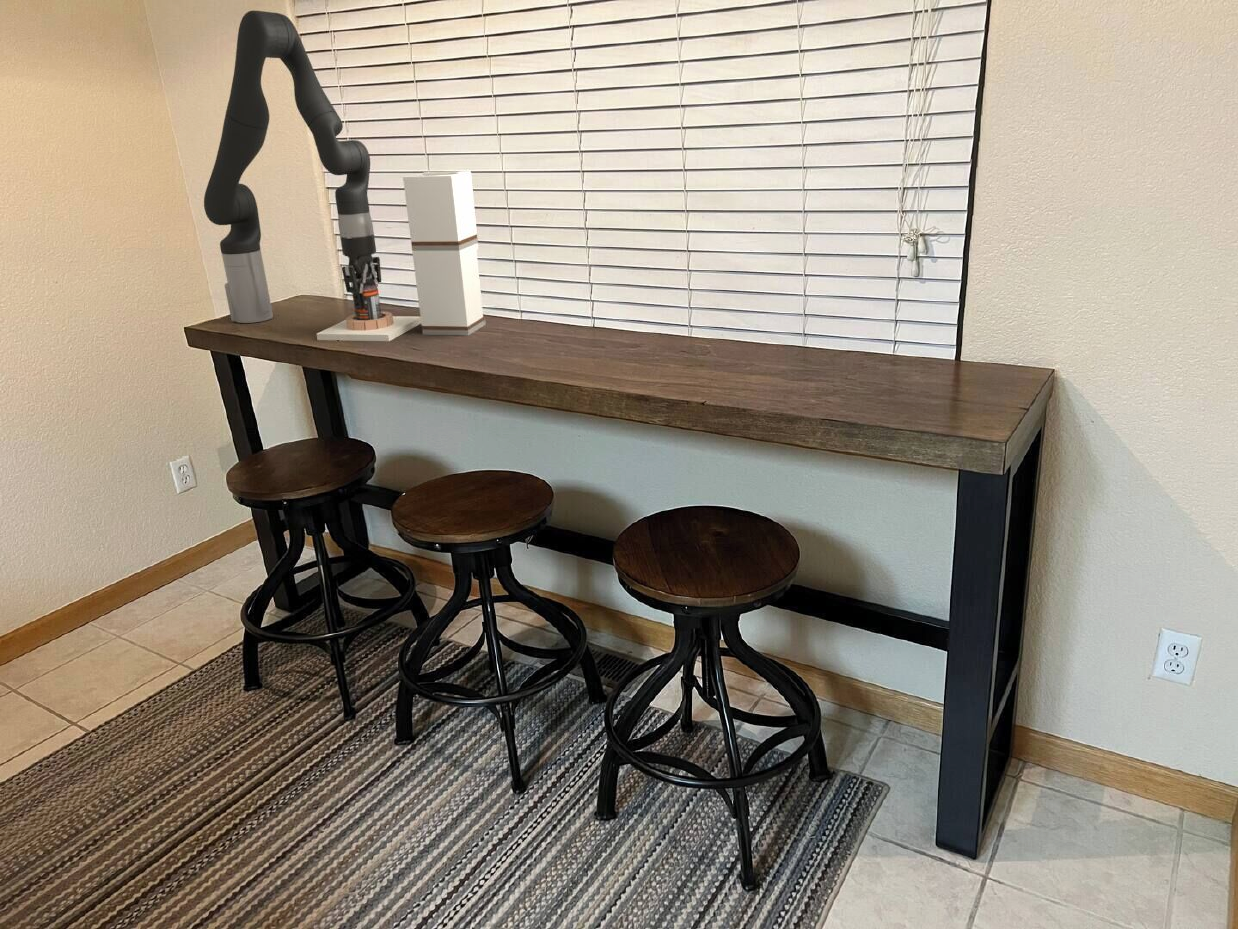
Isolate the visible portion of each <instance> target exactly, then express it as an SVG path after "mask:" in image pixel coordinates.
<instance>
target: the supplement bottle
mask: <svg viewBox="0 0 1238 929" xmlns="http://www.w3.org/2000/svg"><path fill="white" fill-rule="evenodd" d="M372 282H373V280H372V277H371V276H369V277H367V278H366V282H365V284H364V285H363V295H364V302H365V309H363V310H357V309H356V308H355V303H354V296H353V293H351V294H352V301H353V307H354V314H355V315H356V320H374V319H379V318H382V315H381V312H382V307H381V303H380V302H381V301H380V294H379V289H378V287H377V286H375V285H374V284H373V283H372ZM358 288H359V284H358Z"/></svg>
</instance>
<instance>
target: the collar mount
mask: <svg viewBox="0 0 1238 929" xmlns="http://www.w3.org/2000/svg"><path fill="white" fill-rule="evenodd" d="M381 315H382V318H379V319H374V320H356V315H355V313H354V314H351V315H349V316H347V317H345V320H342V321H341V322H338V323H336V324H334V325H332V326H329V327H328V328H326V329H323V330H322V331H320V332H317V333H316V339H317V341H337V340H339V341H342V342H343V341H344V342H345V341H346V342H347V341H348V342H352V341H353V342H391V341H392V340H394V339H396V338H398V337H399V336H402V335H403V334H405V333H406V332H408V331H410V330H412V329H414V328H416V327H417V326H419V325H422V324H421V316H415V315H414V316H412V315H411V316H407V315H405V316H403V315H402V316H401V315H399V316H398V315H397V316H396V315H393V313H391V312H390V311H389V312H388V311H381ZM339 341H338V342H339Z"/></svg>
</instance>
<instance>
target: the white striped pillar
mask: <svg viewBox="0 0 1238 929" xmlns="http://www.w3.org/2000/svg"><path fill="white" fill-rule="evenodd" d="M402 180H403V188H404V195H405V196H404V197H405V204H406V205H405V206H406V212H407V213H406V214H407V219H408V228H409V234H410V237H409V238H410V243H411V251H412V259H413V267H414V268H413V269H414V275H415V276H414V277H415V282H416V284H415V286H416V290H417V299H418V307H419V314H420V316H419V317H421V324H420V325H421V330H422V335H431V336H433V335H434V336H439V335H440V336H470V335H472V334H473V333H475V332H476V331H478V330H479V329H481V328H482V327H485V326H486V316H485V315H484V311H483V303H482V302H483V301H482V292H481V280H480V272H479V262H478V250H479V242H478V230H477V220H476V212H475V211H476V210H475V200H474V190H473V181H472V172H471V170H470V171H469V170H468V171H467V170H466V171H442V172H441V171H435V172H434V171H430V172H427V171H426V172H422V175H417V176H415V175H411V176H402Z"/></svg>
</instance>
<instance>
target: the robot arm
mask: <svg viewBox="0 0 1238 929" xmlns="http://www.w3.org/2000/svg"><path fill="white" fill-rule="evenodd" d="M240 20H241V21H240V23H239V28H238V31H237V32H238V33H237V39H236V40H237V42H236V52H235V60H234V61H235V62H234V68H233V69H234V70H233V76H232V83H231V88H230V93H229V98H228V102H227V106H226V110H225V111H226V112H225V116H224V121H223V125H222V132H221V137H220V141H219V146H218V150H217V153H216V158H215V162H214V165H213V168H212V172H211V175H210V177H209V180H208V183H207V186H206V189H205V193H204V196H203V197H204V198H203V208H204V213H205V215H206V218H208V220H209V221H210V222H211V223H213V224H214V225H217V226H229V225H230V230H229V232H228V234H227V235H226V236H225V237H224V238H223V239H221V241H220V242H219V248H220V252H221V257H222V261H223V267H224V272H225V277H226V283H225V284H224V290H225V296H226V300H227V304H228V310H229V315H230V320H231V322H236V323H239V324H240V323H241V324H253V323H259V322H265V321H268V320H271V319H273V318H274V314H273V307H272V302H271V298H270V293H269V287H268V281H267V277H266V271H265V266H264V260H263V255H262V249H261V238H262V231H261V225H260V218H259V217H260V216H259V209H258V203H257V200H256V197H255V195H254V193H253V191H252V190H251V189H250V187H248V185H246V184H244V183H240V181H241V178H242V176H243V175H244V172H245V171H246V170H247V168H248V167H249V166H250V164H251V163H252V162H253V160H254V159H255V158H256V156H258V154H260V153H259V152H261V149H262V147H264V144H265V140H266V137H267V132H268V130H269V129H268V128H269V125H270V124H269V123H270V111H269V105H268V103H267V100H266V97H265V94H264V91H263V89H262V76H263V68H264V64H265V62H266V59H267V58H270V59H271V58H272V59H279V60H280V61H281V62H282V63H283V64H284V65H285V67H286V68H287V69H288V71H289V73H290V75H291V78H292V81H293V90H294V91H293V92H294V101H295V104H296V108H297V110H298V113H299V115H301V118H302V119H303V121H304V122H305V124H306V126H307V128H308V129H309V130H310V132H311V133H312V136H313V140H314V143H315V146H316V149H317V153H318V155H319V160H320V162H321V164H322V166H323V168H325V170H326V171H327V172H328V173H330V174H331V175H335V176H346V179H345V183H344V184H343V185H340V186H339V187H337V188H336V189H335V191H334V192H335V193H334V195H335V196H334V197H335V204H336V209H337V217H338V218H337V219H338V220H337V221H338V225H337V226H338V231H339V238H340V245H341V250H342V255H343V256H345V257H347V258H348V265H346V266H342V267H341V272H342V276H343V281H344V286H345V290H346V293H351V294H352V293H353V294H352V297H353V296H354V301H353V304H354V303H355V308H356V309H357V310H363V309H365V302H364V295H363V285H364V284H365V282H366V278H367V277H369V276H371V277H372V280H373V282H372V283H373V284H374V285H375V286H377V288H378V287H379V283H382V272H381V271H382V270H381V260H380V257H379V256H373V255H374V254H376V253H377V247H376V239H375V238H376V237H375V232H374V224H373V220H372V217H371V211H370V205H369V197H368V190H369V180H370V173H371V157H370V153H369V151H368V149H367V146H366V145H365V144H364V143H363V142H361V141H359V140H354V139H352V140H351V139H350V140H340V141H339V140H338V138H337V137H338V135H340V134H341V133H342V130H343V127H344V126H343V121H342V119H341V117H340V116H339V114H338V112H337V111H336V109H335V108H334V106H333V105H332V103H331V100H329V97H328V96H327V95H326V92H325V91H324V89H323V87H322V85H321V83H320V82H319V79H318V77H317V75H316V73H315V69H314V68H313V66H312V62H311V61H310V58H309V55H308V53H307V51H306V48H305V47H304V44H303V41H302V39H301V36H300V34H299V32H298V31H297V28H296V26H295V25H294V23H293V22H292V20H291V19H290V18H289V17H288V16H286V15H285V14H281V13H279V12H271V11H263V10H249V11H247V12H245V14H244V15H243V16H242V18H241V19H240ZM358 284H359V288H358ZM355 308H354V309H355Z"/></svg>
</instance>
